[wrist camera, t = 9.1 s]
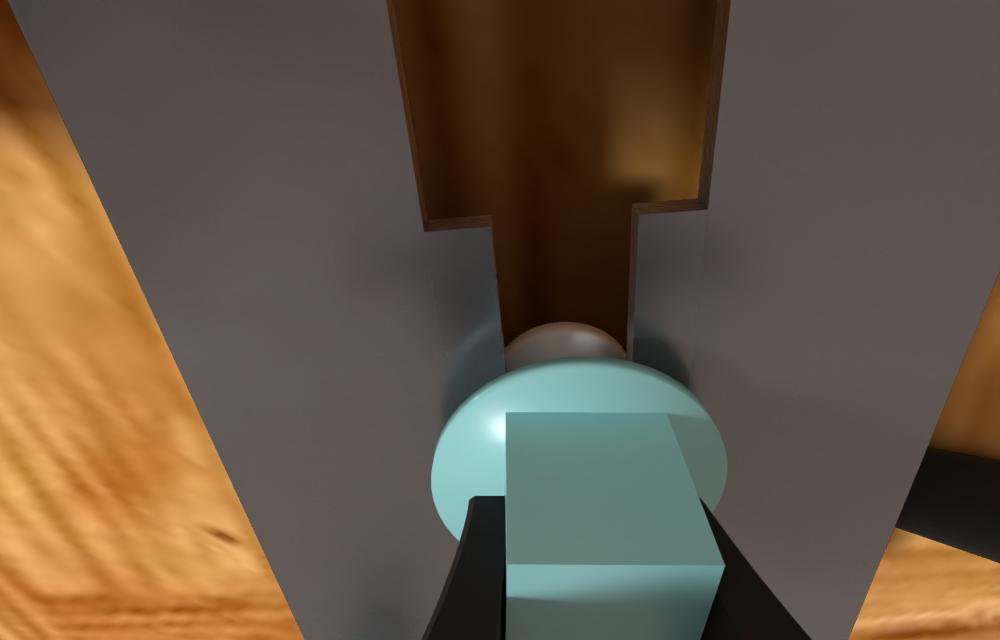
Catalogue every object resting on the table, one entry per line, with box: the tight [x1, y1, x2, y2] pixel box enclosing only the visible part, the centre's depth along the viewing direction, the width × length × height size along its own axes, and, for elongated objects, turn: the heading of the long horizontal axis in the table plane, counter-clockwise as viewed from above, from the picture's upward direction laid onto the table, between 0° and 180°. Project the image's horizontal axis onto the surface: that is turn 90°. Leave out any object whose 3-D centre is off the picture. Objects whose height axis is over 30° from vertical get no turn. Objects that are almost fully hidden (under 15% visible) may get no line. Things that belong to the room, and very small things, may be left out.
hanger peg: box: [431, 322, 727, 640], centre depth 12 cm, size 6×6×7 cm
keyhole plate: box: [7, 0, 1000, 640], centre depth 14 cm, size 16×22×4 cm
